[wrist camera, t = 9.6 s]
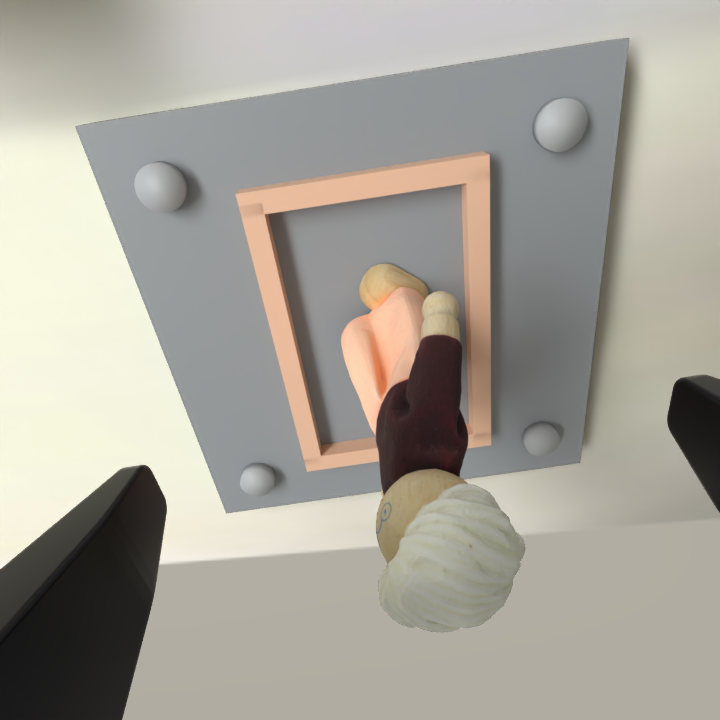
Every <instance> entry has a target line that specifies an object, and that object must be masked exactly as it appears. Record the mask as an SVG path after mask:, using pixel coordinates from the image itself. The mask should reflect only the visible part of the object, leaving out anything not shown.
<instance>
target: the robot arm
mask: <svg viewBox="0 0 720 720" xmlns="http://www.w3.org/2000/svg"><path fill="white" fill-rule="evenodd" d="M667 422H668V427H669V430H670V432H671V434H672V436H673V437H674V439H675V441H676V442H677V444H678V445H679V447H680V449H681V450H682V452H683V454H684V455H685V457H686V459H687V460H688V462H689V464H690V465H691V467H692V469H693V470H694V472H695V474H696V475H697V477H698V479H699V480H700V482H701V484H702V485H703V487H704V489H705V490H706V492H707V494H708V495H709V497H710V498H711V500H712V502H713V503H714V505H715V506H716V508H717V509H718V511H719V512H720V379H717V378H714V377H711V376H708V375H696V376H690V377H684V378H680V379H678V380H677V381H676V382H675V384H674V387H673V392H672V396H671V401H670V406H669V411H668V416H667ZM166 513H167V505H166V500H165V497H164V495H163V493H162V491H161V489H160V487H159V485H158V483H157V481H156V479H155V477H154V475H153V473H152V471H151V469H150V468H149V467H148V466H146V465H138V466H132V467H126V468H122V469H120V470H119V471H118V472H117V473H115V474H114V475H113V476H112V477H111V478H109V479H108V480H107V481H106V482H105V483H103V484H102V485H101V486H100V487H99V488H97V489H96V490H95V491H94V492H93V493H91V494H90V495H89V496H88V497H87V498H85V499H84V500H83V501H82V502H81V503H79V504H78V505H77V506H76V507H75V508H73V509H72V510H71V511H70V512H69V513H67V514H66V515H65V516H64V517H63V518H61V519H60V520H59V521H58V522H57V523H55V524H54V525H53V526H52V527H51V528H49V529H48V530H47V531H46V532H45V533H43V534H42V535H41V536H40V537H39V538H37V539H36V540H35V541H34V542H33V543H31V544H30V545H29V546H28V547H27V548H25V549H24V550H23V551H22V552H21V553H19V554H18V555H17V556H16V557H15V558H13V559H12V560H11V561H10V562H9V563H7V564H6V565H5V566H4V567H3V568H1V569H0V720H122V718H123V714H124V710H125V707H126V703H127V698H128V695H129V691H130V687H131V684H132V679H133V676H134V672H135V668H136V664H137V660H138V657H139V653H140V649H141V645H142V641H143V637H144V634H145V629H146V625H147V621H148V618H149V614H150V610H151V606H152V602H153V597H154V592H155V587H156V581H157V574H158V567H159V561H160V554H161V547H162V540H163V533H164V527H165V520H166Z"/></svg>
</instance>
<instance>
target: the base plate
mask: <svg viewBox="0 0 720 720" xmlns="http://www.w3.org/2000/svg"><path fill="white" fill-rule="evenodd" d="M628 45H629V38H623V39H615V40H607V41H600V42H594V43H588V44H582V45H575V46H569V47H563V48H557V49H550V50H544V51H538V52H532V53H525V54H519V55H513V56H507V57H500V58H494V59H488V60H482V61H475V62H469V63H463V64H457V65H450V66H444V67H438V68H432V69H425V70H419V71H413V72H407V73H400V74H394V75H388V76H382V77H375V78H369V79H363V80H357V81H350V82H344V83H338V84H332V85H325V86H319V87H313V88H307V89H300V90H294V91H288V92H282V93H275V94H269V95H263V96H257V97H250V98H244V99H238V100H232V101H225V102H219V103H213V104H207V105H200V106H194V107H188V108H182V109H175V110H169V111H163V112H157V113H150V114H144V115H138V116H132V117H125V118H119V119H113V120H107V121H100V122H94V123H89V124H84V125H79V126H75V127H76V130H77V132H78V135H79V137H80V140H81V143H82V145H83V148H84V150H85V153H86V155H87V158H88V160H89V163H90V166H91V168H92V171H93V173H94V176H95V178H96V181H97V183H98V186H99V189H100V191H101V194H102V196H103V199H104V201H105V204H106V207H107V209H108V212H109V214H110V217H111V219H112V222H113V224H114V227H115V230H116V232H117V235H118V237H119V240H120V242H121V245H122V247H123V250H124V253H125V255H126V258H127V260H128V263H129V265H130V268H131V271H132V273H133V276H134V278H135V281H136V283H137V286H138V288H139V291H140V294H141V296H142V299H143V301H144V304H145V306H146V309H147V311H148V314H149V317H150V319H151V322H152V324H153V327H154V329H155V332H156V335H157V337H158V340H159V342H160V345H161V347H162V350H163V352H164V355H165V358H166V360H167V363H168V365H169V368H170V370H171V373H172V376H173V378H174V381H175V383H176V386H177V388H178V391H179V393H180V396H181V399H182V401H183V404H184V406H185V409H186V411H187V414H188V416H189V419H190V422H191V424H192V427H193V429H194V432H195V434H196V437H197V440H198V442H199V445H200V447H201V450H202V452H203V455H204V457H205V460H206V463H207V465H208V468H209V470H210V473H211V475H212V478H213V480H214V483H215V486H216V488H217V491H218V493H219V496H220V498H221V501H222V504H223V506H224V509H225V511H226V513H232V512H239V511H246V510H253V509H260V508H267V507H274V506H281V505H288V504H295V503H302V502H309V501H316V500H323V499H330V498H337V497H344V496H351V495H358V494H365V493H372V492H379V491H382V485H381V477H380V464H379V452H378V448H377V444H376V436H375V434H374V432H373V431H372V429H371V427H370V425H369V422H368V420H367V417H366V415H365V412H364V410H363V407H362V404H361V401H360V398H359V396H358V393H357V391H356V389H355V387H354V385H353V383H352V381H351V378H350V375H349V372H348V369H347V366H346V363H345V360H344V355H343V350H342V346H341V336H342V333H343V331H344V329H345V327H346V326H347V325H348V323H349V322H351V321H352V320H353V319H355V318H357V317H360V316H363V315H366V314H369V313H370V312H371V311H372V310H371V309H369V308H368V307H367V306H366V305H365V304H364V303H363V302H362V300H361V297H360V293H359V287H360V283H361V281H362V278H363V276H364V275H365V273H366V272H367V271H368V270H369V269H370V268H371V267H373V266H375V265H378V264H392V265H394V266H396V267H398V268H400V269H402V270H404V271H405V272H407V273H409V274H411V275H412V276H414V277H416V278H418V279H419V280H421V281H422V282H423V283H424V284H425V285H426V287H427V289H428V295H430V294H431V293H433V292H437V291H446V292H448V293H450V294H452V295H453V296H454V297H455V298H456V300H457V302H458V305H459V313H458V317H457V319H456V320H457V321H458V324H459V333H460V343H461V345H462V369H461V386H462V393H461V401H460V408H459V409H460V411H461V413H462V415H463V417H464V420H465V424H466V426H467V430H468V447H467V450H466V454H465V457H464V460H463V464H462V468H461V470H460V478H461V479H470V478H477V477H484V476H491V475H498V474H505V473H512V472H519V471H526V470H533V469H540V468H547V467H554V466H561V465H568V464H575V463H580V460H581V451H582V443H583V434H584V425H585V417H586V408H587V399H588V391H589V382H590V373H591V365H592V356H593V347H594V339H595V330H596V322H597V313H598V304H599V296H600V287H601V278H602V270H603V261H604V252H605V244H606V235H607V226H608V218H609V209H610V200H611V192H612V183H613V174H614V166H615V157H616V148H617V140H618V131H619V122H620V114H621V105H622V97H623V88H624V79H625V71H626V62H627V53H628Z"/></svg>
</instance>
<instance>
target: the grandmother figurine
mask: <svg viewBox="0 0 720 720" xmlns="http://www.w3.org/2000/svg"><path fill="white" fill-rule="evenodd" d="M359 293H360V297H361V300H362V302H363V303H364V304H365V305H366V306H367V307H368V308H369V309H371V310H372V311H371V312H370V313H369V314H366V315H363V316H360V317H357V318H355V319H353V320H352V321H351V322H349V323H348V325H347V326H346V327H345V329H344V331H343V333H342V336H341V346H342V350H343V355H344V360H345V363H346V366H347V369H348V372H349V375H350V378H351V381H352V383H353V385H354V387H355V389H356V391H357V393H358V396H359V398H360V401H361V404H362V407H363V410H364V412H365V415H366V417H367V420H368V422H369V425H370V427H371V429H372V431H373V432H374V434H375V436H376V444H377V448H378V452H379V464H380V477H381V485H382V491H381V492H382V497H383V498H382V500H381V503H380V506H379V509H378V512H377V520H376V534H377V540H378V543H379V546H380V549H381V551H382V554H383V556H384V558H385V559H386V561H387V567H386V568H385V569H384V570H383V572H382V573H381V575H380V577H379V580H378V592H379V600H380V604H381V606H382V608H383V609H384V611H385V612H386V613H387V614H388V615H389V616H390V617H391V618H392V619H393V620H395V621H396V622H397V623H399V624H401V625H404V626H407V627H417V628H420V629H423V630H427V631H431V632H450V631H454V630H458V629H460V628H470V627H474V626H479V625H481V624H483V623H484V622H486V621H487V620H489V619H490V618H491V617H492V616H493V615H494V614H495V613H496V612H497V611H498V610H499V609H500V608H501V607H502V606H504V603H505V602H506V600H507V598H508V596H509V594H510V592H511V589H512V585H513V578H514V576H515V575H516V573H517V571H518V570H519V568H520V561H521V559H522V558H523V555H524V552H525V544H524V540H523V539H522V537H521V536H520V535H519V534H518V533H516V532H515V530H514V528H513V526H512V525H511V523H510V519H509V517H508V516H507V515H506V514H505V513H504V512H503V511H502V510H501V509H500V508H499V506H498V504H497V502H496V501H495V499H494V498H493V496H492V495H491V494H490V493H489V492H488V491H486V490H484V489H482V488H480V487H478V486H476V485H471V484H468V483H467V482H465V481H464V480H463V479H461V478H460V470H461V468H462V464H463V460H464V457H465V454H466V450H467V447H468V430H467V426H466V424H465V420H464V417H463V415H462V413H461V411H460V409H459V408H460V401H461V393H462V386H461V369H462V345H461V343H460V333H459V324H458V321H457V320H456V319H457V317H458V313H459V305H458V302H457V300H456V298H455V297H454V296H453V295H452V294H450V293H448V292H446V291H437V292H433V293H431V294H430V295H428V289H427V287H426V285H425V284H424V283H423V282H422V281H421V280H419V279H418V278H416V277H414V276H412V275H411V274H409V273H407V272H405V271H404V270H402V269H400V268H398V267H396V266H394V265H392V264H378V265H375V266H373V267H371V268H370V269H369V270H368V271H367V272H366V273H365V275H364V276H363V278H362V281H361V283H360V287H359Z"/></svg>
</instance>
